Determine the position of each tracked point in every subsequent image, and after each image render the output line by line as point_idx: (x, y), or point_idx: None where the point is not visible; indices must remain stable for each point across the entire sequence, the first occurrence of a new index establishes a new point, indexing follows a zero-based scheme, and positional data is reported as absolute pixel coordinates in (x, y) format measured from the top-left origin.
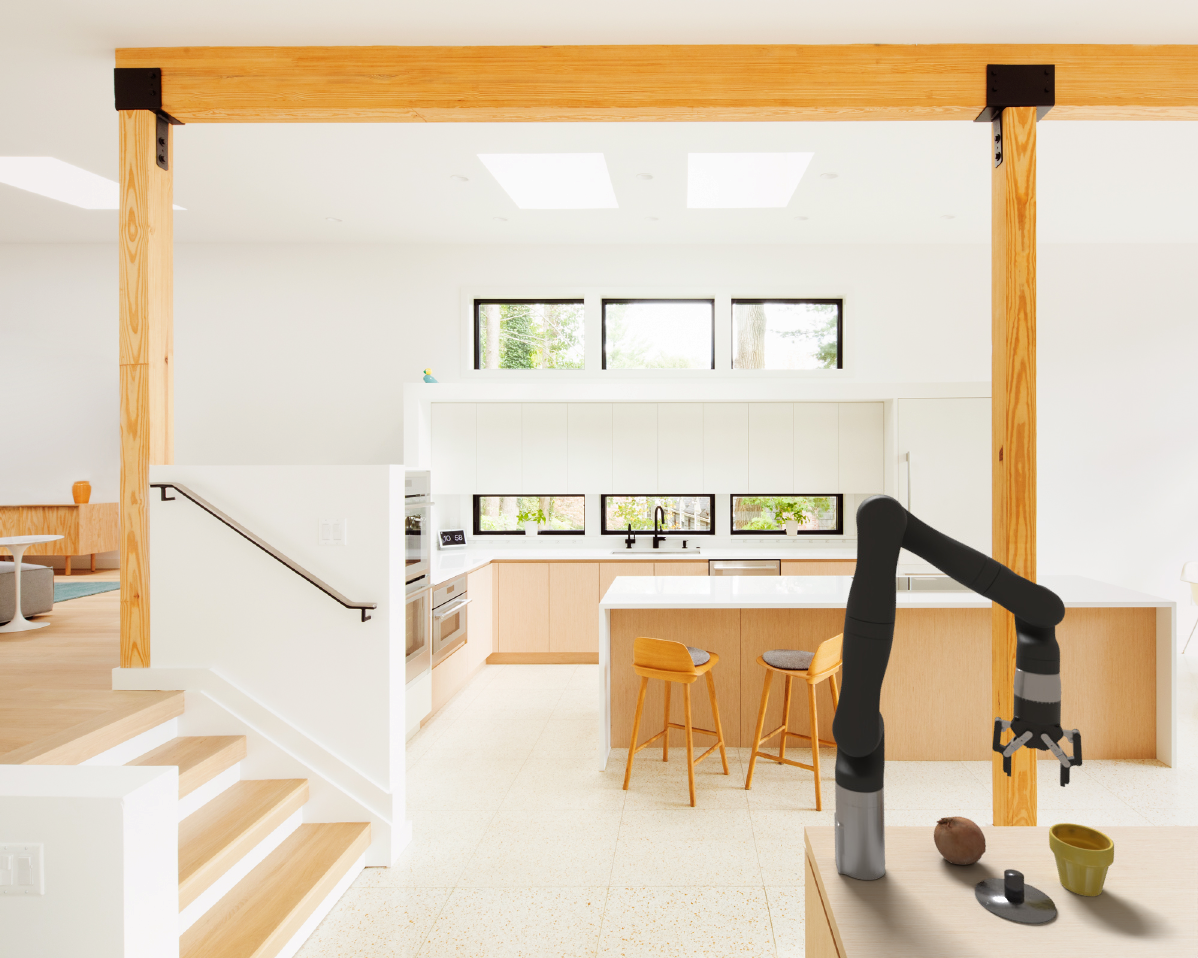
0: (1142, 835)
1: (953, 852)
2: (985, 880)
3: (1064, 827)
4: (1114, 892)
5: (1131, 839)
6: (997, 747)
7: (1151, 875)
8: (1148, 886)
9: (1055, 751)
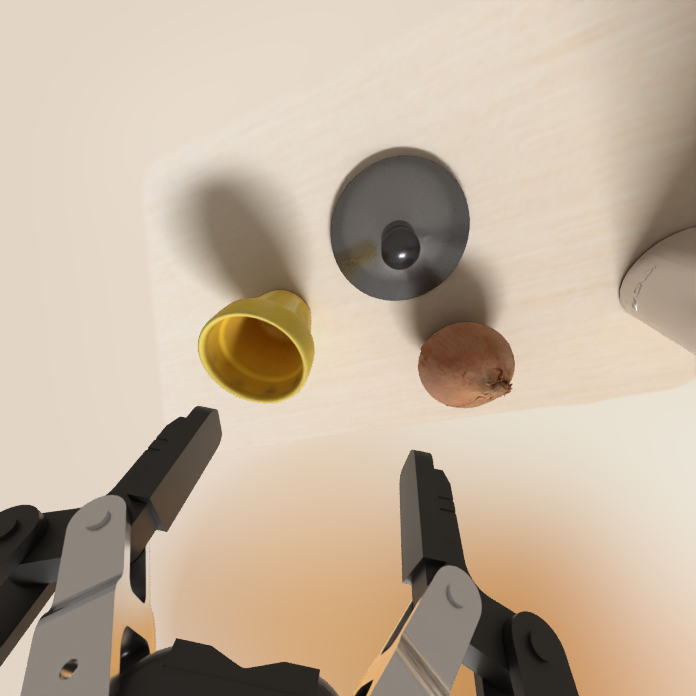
0: None
1: (487, 327)
2: (433, 286)
3: (280, 393)
4: None
5: None
6: (534, 659)
7: (197, 364)
8: None
9: (80, 646)
